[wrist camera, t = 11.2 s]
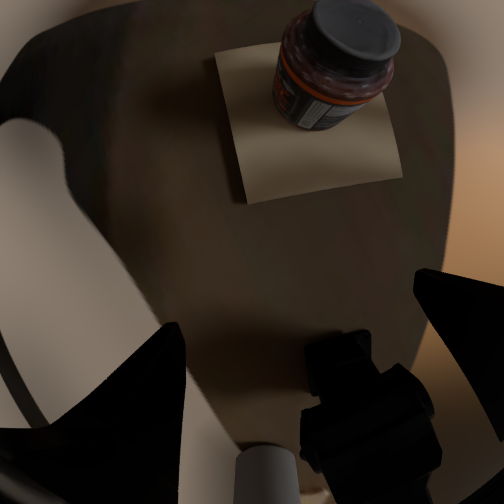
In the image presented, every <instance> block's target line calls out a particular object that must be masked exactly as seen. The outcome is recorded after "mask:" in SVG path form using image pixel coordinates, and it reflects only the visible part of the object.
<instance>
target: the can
mask: <svg viewBox="0 0 504 504" xmlns="http://www.w3.org/2000/svg"><path fill="white" fill-rule="evenodd" d="M235 469H236V470H235V485H234V500H233V504H301V501H300V493H299V486H298V478H297V471H296V463H295V458H294V455H293V454H292V453H291V452H290V451H289V450H286V449H284V448H282V447H279V446H275V445H259V446H254V447H251V448H249V449H247V450H245V451H244V452H242V453H240V454H239V455H238V457H237V458H236V468H235Z"/></svg>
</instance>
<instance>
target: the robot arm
mask: <svg viewBox="0 0 504 504" xmlns="http://www.w3.org/2000/svg"><path fill="white" fill-rule="evenodd" d="M413 293H414V295H415V297H416V299H417V300H418V302H419V304H420V305H421V307H422V309H423V311H424V312H425V314H426V316H427V318H428V319H429V321H430V323H431V324H432V326H433V327H434V329H435V330H436V331H437V333H438V334H439V336H440V337H441V338H442V340H443V342H444V343H445V345H446V346H447V348H448V349H449V351H450V352H451V354H452V355H453V357H454V358H455V360H456V362H457V363H458V365H459V366H460V368H461V370H462V371H463V373H464V374H465V376H466V378H467V380H468V381H469V383H470V385H471V386H472V388H473V390H474V392H475V393H476V395H477V397H478V399H479V401H480V403H481V404H482V407H483V409H484V410H485V412H486V414H487V416H488V418H489V420H490V422H491V424H492V426H493V428H494V430H495V433H496V435H497V437H498V439H499V441H500V442H501V443H502V442H503V440H504V287H503V286H499V285H495V284H490V283H487V282H483V281H478V280H474V279H470V278H465V277H462V276H457V275H453V274H448V273H444V272H440V271H436V270H431V269H427V268H423V269H420V270H417V271H416V272H415V278H414V286H413ZM366 334H367V336H365V335H366ZM364 336H365V337H364ZM309 349H312V350H311V351H308V350H309ZM304 352H305V358H306V365H307V372H308V379H309V386H310V393H311V395H312V396H314V397H315V396H319V398H320V402H321V404H319V405H317V406H314V407H312V408H310V409H308V408H306V409H304V410H301V418H300V446H301V450H300V453H299V454H300V457H301V459H302V460H304V461H307V462H308V463H309V465H310V466H311V468H312V469H313V471H314V472H315V473H317V474H319V473H323V475H324V477H325V479H326V482H327V484H328V486H329V488H330V490H331V492H332V494H333V496H334V499H335V502H336V503H337V504H433V502H432V499H431V496H430V493H429V490H428V483H429V480H430V477H431V474H432V471H434V470H435V469H437V468H439V467H440V465H441V459H442V449H441V447H440V445H439V442H438V439H437V436H436V434H435V431H434V428H433V425H432V423H431V419H432V418H434V413H435V412H434V407H433V404H432V401H431V399H430V397H429V394H428V392H427V391H426V389H425V388H424V386H423V384H422V383H421V382H420V380H419V379H418V378H416V377H415V376H414V375H413V374H412V373H410V372H409V371H408V370H407V369H406V368H404V367H403V366H402V365H401V364H400V363H397V364H395V365H394V366H393V367H392V368H391V369H389V370H387V371H386V372H384V373H382V374H380V372H379V371H378V369H377V368H376V366H375V364H374V363H373V361H372V360H371V333H370V332H369V331H368V330H363V331H360V332H356V333H353V334H352V333H350V334H346V335H343V336H339V337H335V338H331V339H327V340H326V341H322V342H318V343H313V344H309V345H307V346H306V347H305V348H304ZM185 388H186V345H185V340H184V337H183V335H182V332H181V330H180V327H179V325H178V323H177V322H169V323H165V324H164V325H163V326H162V327H161V328H160V329H159V330H158V331H157V332H155V333H154V334H153V335H152V336H151V337H150V338H149V339H148V340H147V341H146V342H145V343H144V344H143V345H142V346H141V347H139V349H137V350H136V351H135V352H134V353H133V354H132V355H131V356H130V357H129V358H128V359H127V360H126V361H125V362H123V363H122V364H121V365H120V366H119V367H118V368H117V369H116V370H115V371H114V372H113V373H112V374H111V375H110V376H109V377H107V379H105V380H104V381H103V382H102V383H101V384H100V385H99V386H98V387H97V388H96V389H95V390H94V391H92V392H91V393H90V394H89V395H88V396H87V397H85V398H84V399H83V400H82V401H80V402H79V403H78V404H77V405H75V406H74V407H73V408H72V409H70V410H69V411H68V412H67V413H65V414H64V415H63V416H61V417H60V418H59V419H58V420H56V421H55V422H53V423H52V424H50V425H48V426H45V427H41V428H0V504H178V485H179V464H180V448H181V434H182V421H183V410H184V399H185ZM315 391H317V392H315ZM458 504H504V468H503V469H502V470H501V471H499V472H498V473H497V474H496V475H495V476H494V477H492V478H491V479H490V480H489V481H488V482H486V483H485V484H484V485H483V486H481V487H480V488H479V489H477V490H476V491H475V492H474V493H472V494H471V495H470V496H468V497H467V498H466V499H464V500H462V501H461V502H460V503H458Z"/></svg>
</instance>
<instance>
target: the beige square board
mask: <svg viewBox="0 0 504 504" xmlns="http://www.w3.org/2000/svg"><path fill="white" fill-rule="evenodd" d="M280 45H281V42H278V43H269V44H262V45H255V46H249V47H243V48H238V49H232V50H227V51H223V52H218V53H214V54H215V59H216V63H217V68H218V72H219V76H220V81H221V85H222V90H223V94H224V99H225V103H226V107H227V112H228V116H229V121H230V125H231V130H232V134H233V139H234V143H235V148H236V152H237V157H238V161H239V166H240V171H241V175H242V180H243V184H244V189H245V193H246V198H247V203H248V204H253V203H257V202H262V201H267V200H272V199H277V198H282V197H287V196H292V195H297V194H303V193H308V192H314V191H319V190H325V189H331V188H336V187H342V186H348V185H355V184H361V183H367V182H374V181H381V180H388V179H395V178H402V177H403V175H402V170H401V164H400V159H399V154H398V150H397V145H396V141H395V137H394V132H393V128H392V125H391V121H390V117H389V113H388V110H387V106H386V103H385V100H384V97H383V93H382V92H381V93H380V94H379V95H377V96H376V97H374V98H373V99H372V100H370V101H369V102H368V103H366V104H365V105H363V106H362V107H361V108H359V109H358V110H357V111H355V112H354V113H352V114H351V115H350V116H348V117H347V118H346V119H344V120H343V121H342V122H340V123H339V124H338V125H336V126H334V127H332V128H330V129H328V130H324V131H315V132H314V131H307V130H303V129H300V128H297V127H295V126H293V125H291V124H290V123H288V122H287V121H286V120H285V119H284V118H283V117H282V116H281V114H280V113H279V112H278V110H277V108H276V106H275V104H274V101H273V95H272V92H273V91H272V89H273V81H274V76H275V72H276V67H277V62H278V56H279V51H280Z"/></svg>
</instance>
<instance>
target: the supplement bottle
mask: <svg viewBox="0 0 504 504" xmlns="http://www.w3.org/2000/svg"><path fill="white" fill-rule="evenodd" d="M400 43H401V37H400V33H399V29H398V27H397V26H396V24H395V22H394V20H392V18H391V17H390V16H389V14H387V13H386V12H385V11H384V10H383V9H382V8H381V7H380V6H378V5H377V4H375V3H373V2H372V1H370V0H317V1H316V2H315V4H314V6H313V8H312V9H309V10H306V11H304V12H302V13H300V14H298V15H297V16H296V17H295V18H293V19H292V20H291V22H290V23H289V24H288V25H287V27H286V29H285V31H284V33H283V37H282V42H281V45H280V51H279V56H278V62H277V67H276V72H275V76H274V81H273V89H272V91H273V92H272V95H273V101H274V104H275V106H276V108H277V110H278V112H279V113H280V114H281V116H282V117H283V118H284V119H285V120H286V121H287V122H288V123H290V124H291V125H293V126H295V127H297V128H300V129H303V130H307V131H314V132H315V131H324V130H328V129H330V128H332V127H334V126H336V125H338V124H339V123H340V122H342V121H343V120H344V119H346V118H347V117H348V116H350V115H351V114H352V113H354V112H355V111H357V110H358V109H359V108H361V107H362V106H363V105H365V104H366V103H368V102H369V101H370V100H372V99H373V98H374V97H376V96H377V95H379V94H380V93H381V92H382V91H383V90H384V89H385V88H386V87H387V86H388V84H389V83H390V81H391V79H392V76H393V71H394V60H393V56H394V55H395V54H396V53H397V52H398V50H399V47H400Z"/></svg>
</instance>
